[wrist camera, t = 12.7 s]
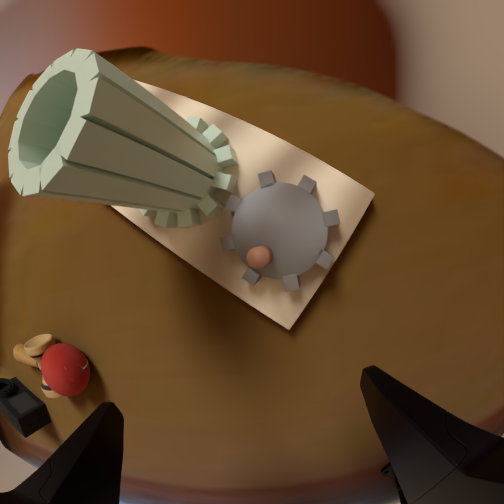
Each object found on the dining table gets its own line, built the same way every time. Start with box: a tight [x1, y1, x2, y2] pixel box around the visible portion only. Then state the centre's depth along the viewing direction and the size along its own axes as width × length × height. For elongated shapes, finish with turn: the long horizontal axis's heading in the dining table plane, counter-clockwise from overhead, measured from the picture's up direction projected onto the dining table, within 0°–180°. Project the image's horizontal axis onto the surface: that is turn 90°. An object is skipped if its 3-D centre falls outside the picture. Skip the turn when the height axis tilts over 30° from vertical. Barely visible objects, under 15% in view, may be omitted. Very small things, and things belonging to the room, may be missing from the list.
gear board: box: [111, 80, 375, 330], centre depth 19 cm, size 25×11×5 cm, turn 59°
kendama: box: [13, 334, 90, 398], centre depth 25 cm, size 8×6×18 cm
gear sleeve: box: [8, 48, 238, 228], centre depth 13 cm, size 8×8×13 cm
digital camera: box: [0, 377, 51, 438], centre depth 27 cm, size 10×5×7 cm, turn 81°
